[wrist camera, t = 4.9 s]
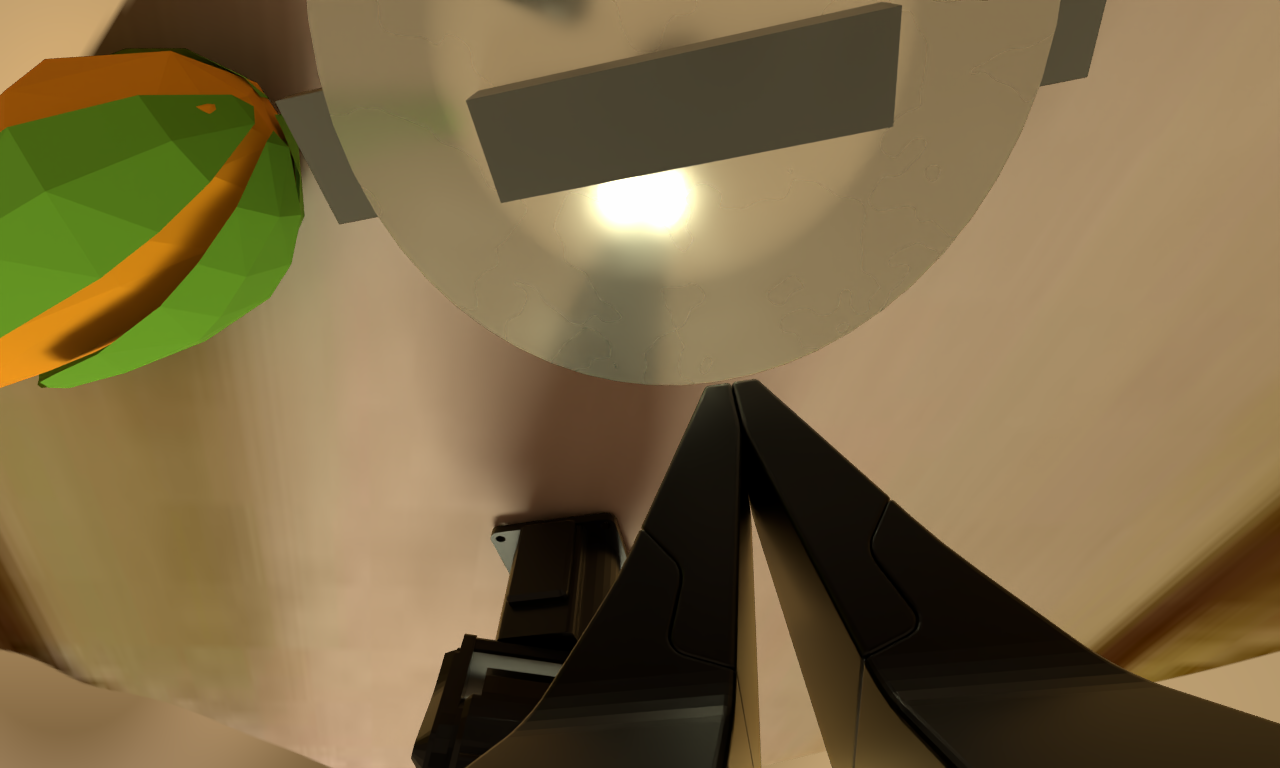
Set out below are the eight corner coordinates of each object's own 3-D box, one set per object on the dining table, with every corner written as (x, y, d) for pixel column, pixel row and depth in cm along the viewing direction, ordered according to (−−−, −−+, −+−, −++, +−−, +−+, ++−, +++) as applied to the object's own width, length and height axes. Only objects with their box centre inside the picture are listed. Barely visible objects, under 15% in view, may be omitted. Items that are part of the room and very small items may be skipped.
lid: (971, 321, 16) (1021, 376, 14) (480, 397, 18) (458, 456, 15) (1166, -716, 7) (1390, -1005, 5) (131, -360, 9) (-32, -462, 7)
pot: (961, 232, 20) (1044, 301, 16) (461, 318, 22) (419, 398, 18) (1061, -422, 11) (1293, -639, 7) (243, -183, 14) (72, -248, 9)
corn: (295, 308, 13) (-155, 553, 18) (417, 212, 19) (57, 414, 25) (-35, -59, 9) (-472, 378, 15) (248, -27, 16) (-129, 269, 21)
